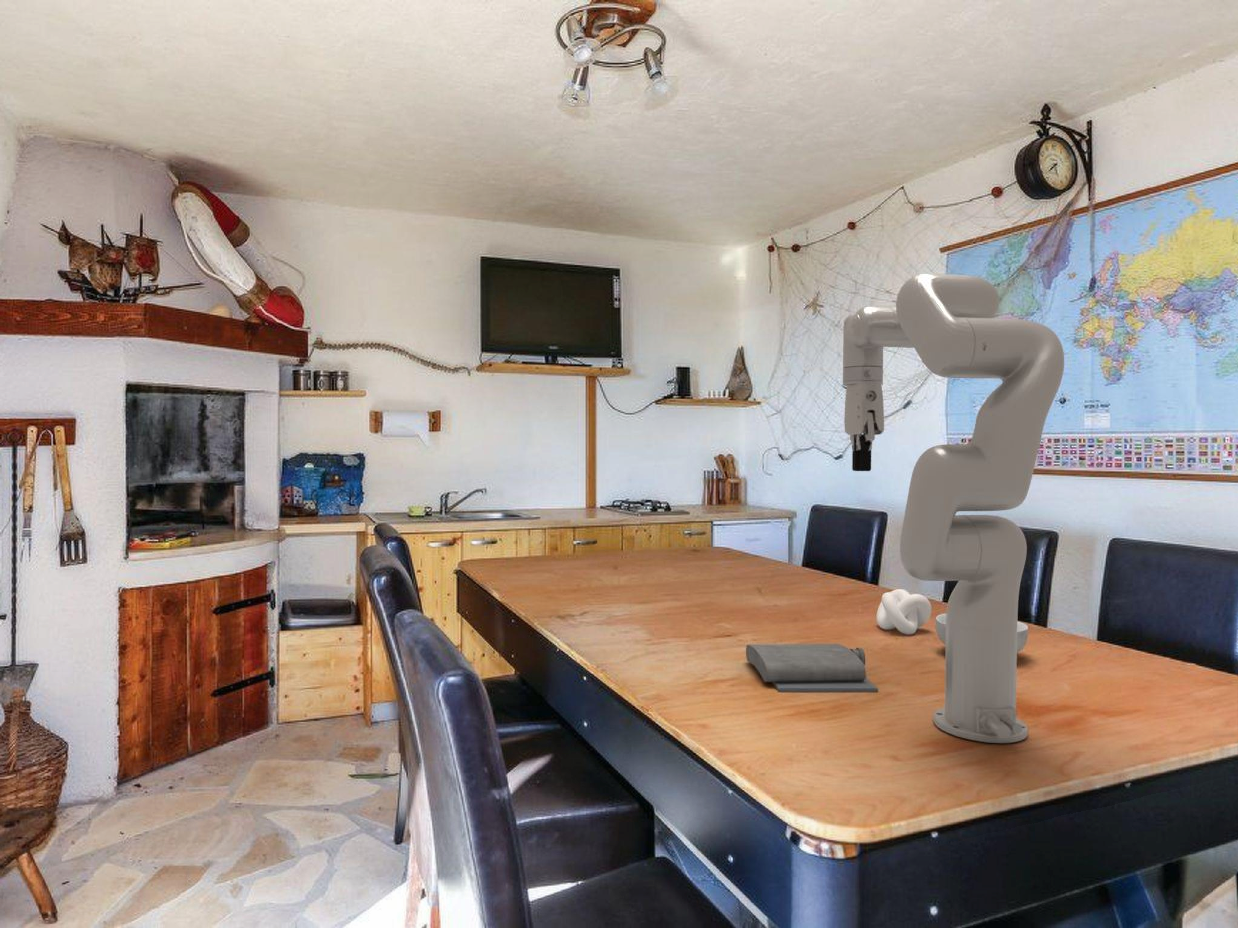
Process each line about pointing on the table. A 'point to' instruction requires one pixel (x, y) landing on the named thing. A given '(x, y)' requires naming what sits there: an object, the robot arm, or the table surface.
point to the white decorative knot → (903, 611)
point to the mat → (826, 686)
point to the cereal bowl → (1021, 631)
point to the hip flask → (807, 662)
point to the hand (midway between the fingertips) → (861, 470)
